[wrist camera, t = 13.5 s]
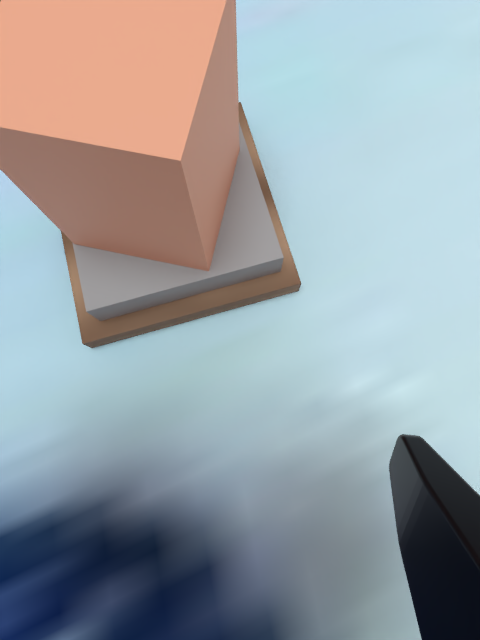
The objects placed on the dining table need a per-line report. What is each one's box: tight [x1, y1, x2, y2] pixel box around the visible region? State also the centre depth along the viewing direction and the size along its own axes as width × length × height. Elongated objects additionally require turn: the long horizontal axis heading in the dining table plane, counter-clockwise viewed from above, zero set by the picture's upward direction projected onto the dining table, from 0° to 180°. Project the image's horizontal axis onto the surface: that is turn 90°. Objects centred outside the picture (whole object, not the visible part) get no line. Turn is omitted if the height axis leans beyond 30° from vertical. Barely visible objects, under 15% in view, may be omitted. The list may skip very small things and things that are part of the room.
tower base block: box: [61, 102, 301, 348], centre depth 24 cm, size 12×12×2 cm
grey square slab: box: [72, 123, 284, 321], centre depth 22 cm, size 10×10×2 cm
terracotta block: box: [0, 0, 240, 271], centre depth 17 cm, size 7×7×9 cm
